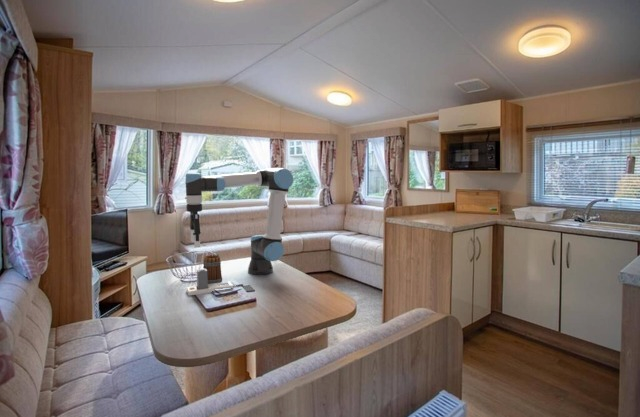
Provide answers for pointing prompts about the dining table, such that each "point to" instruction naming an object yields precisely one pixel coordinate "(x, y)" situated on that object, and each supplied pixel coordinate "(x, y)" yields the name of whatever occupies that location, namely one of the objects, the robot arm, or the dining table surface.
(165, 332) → the dining table surface
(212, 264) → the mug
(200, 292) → the power strip
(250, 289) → the mat
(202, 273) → the charger
